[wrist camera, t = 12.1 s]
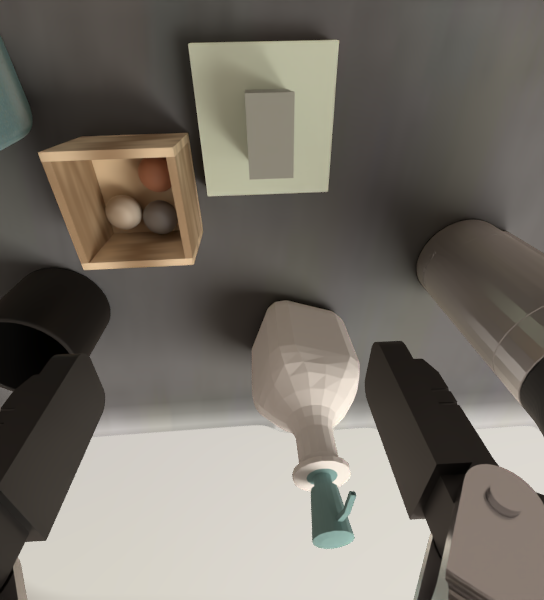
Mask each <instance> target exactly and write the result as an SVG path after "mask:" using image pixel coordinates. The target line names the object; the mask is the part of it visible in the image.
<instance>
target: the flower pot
mask: <svg viewBox="0 0 544 600" xmlns="http://www.w3.org/2000/svg"><path fill="white" fill-rule="evenodd" d="M31 127H32V113H31V109H30V105H29V103H28V100H27V98H26V95H25V93H24V91H23V88H22V86H21V83H20V81H19V79H18V76H17V74H16V72H15V69H14V67H13V64H12V62H11V59H10V57H9V54H8V52H7V49H6V47H5V45H4V42H3V40H2V38H1V36H0V151H1V150H3V149H5V148H6V147H8V146H10V145H12V144H14V143H15V142H17V141H19V140H21V139H22V138H24V137H25V136H26V135H27V134H28V133H29V132H30V130H31Z"/></svg>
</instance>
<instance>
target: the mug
mask: <svg viewBox="0 0 544 600" xmlns="http://www.w3.org/2000/svg"><path fill="white" fill-rule="evenodd" d="M109 319H110V306H109V303H108V300H107V298H106V296H105V295H104V293H103V292H102V290H101V289H100V288H99V287H98V286H97V285H96V284H95V283H93V282H92V281H91V280H89V279H88V278H86V277H84V276H82V275H80V274H78V273H76V272H73V271H70V270H66V269H60V268H47V269H41V270H37V271H34V272H32V273H30V274H29V275H27V276H26V277H25V278H24V279H23V280H21V281H20V282H19V283H18V284H17V285H16V286H15V287H14V288H13V289H11V290H10V291H9V292H8V293H7V294H6V295H5V296H4V297H3V298H2V299H0V387H2V388H5V389H7V390H10V391H14V390H15V389H16V388H18V387H19V386H20V385H21V384H23V383H24V382H25V381H26V380H28V379H29V378H30V377H31V376H33V375H39V374H40V372H41V371H42V370H43V368H44V367H45V365H46V364H47V363H48V361H49V360H50V359H51V358H52V357H53V356H54V355H60V354H83V353H84V354H87V355H88V356H90V354H91V353H92V351H93V349H94V347H95V345H96V344H97V342H98V340H99V338H100V337H101V335H102V333H103V331H104V329H105V328H106V326H107V324H108V322H109Z"/></svg>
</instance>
